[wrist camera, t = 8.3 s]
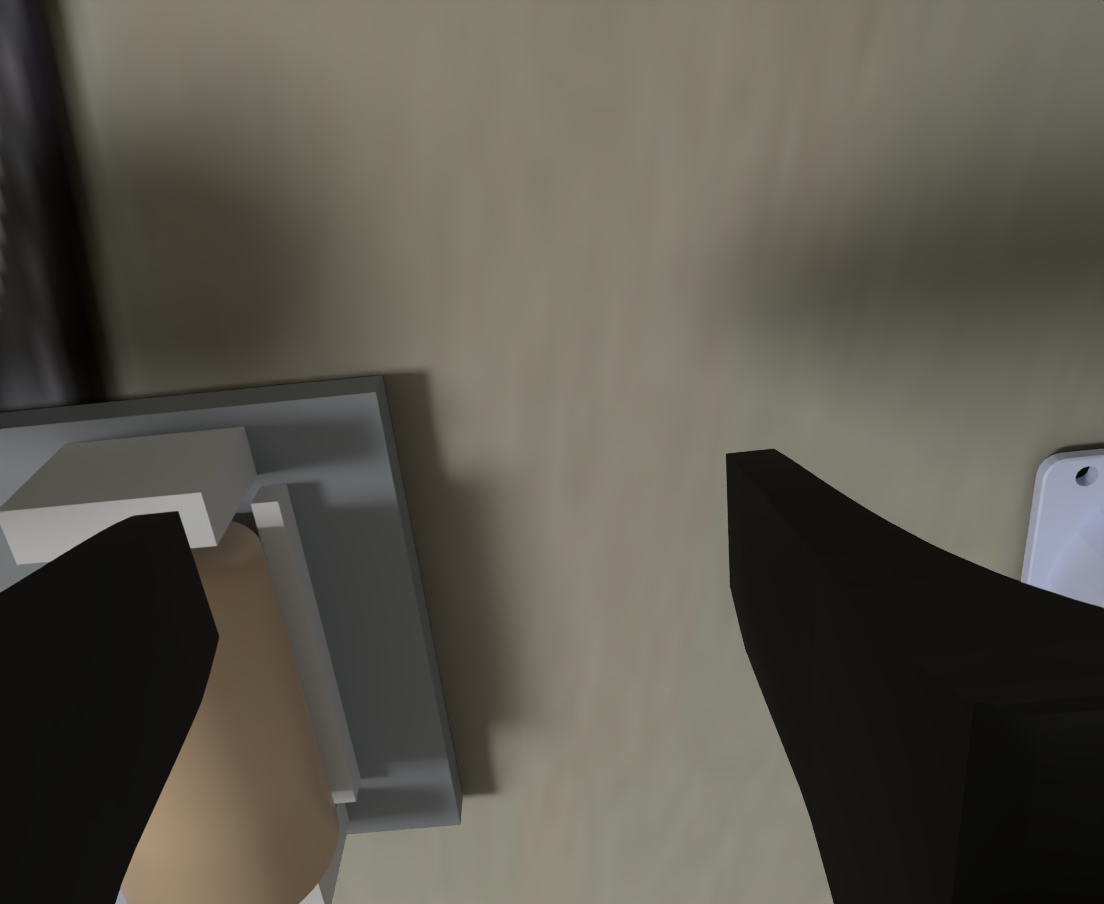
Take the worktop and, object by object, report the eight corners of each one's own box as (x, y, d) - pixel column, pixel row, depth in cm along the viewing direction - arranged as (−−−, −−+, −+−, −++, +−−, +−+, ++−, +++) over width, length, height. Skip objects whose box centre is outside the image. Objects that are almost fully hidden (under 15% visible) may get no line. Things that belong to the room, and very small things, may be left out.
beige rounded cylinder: (297, 514, 21) (196, 657, 17) (365, 776, 25) (296, 952, 20) (94, 519, 22) (-53, 658, 18) (188, 773, 26) (84, 941, 21)
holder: (382, 375, 21) (352, 454, 18) (462, 796, 27) (452, 920, 23) (-53, 417, 22) (-169, 504, 18) (119, 826, 27) (56, 953, 24)
